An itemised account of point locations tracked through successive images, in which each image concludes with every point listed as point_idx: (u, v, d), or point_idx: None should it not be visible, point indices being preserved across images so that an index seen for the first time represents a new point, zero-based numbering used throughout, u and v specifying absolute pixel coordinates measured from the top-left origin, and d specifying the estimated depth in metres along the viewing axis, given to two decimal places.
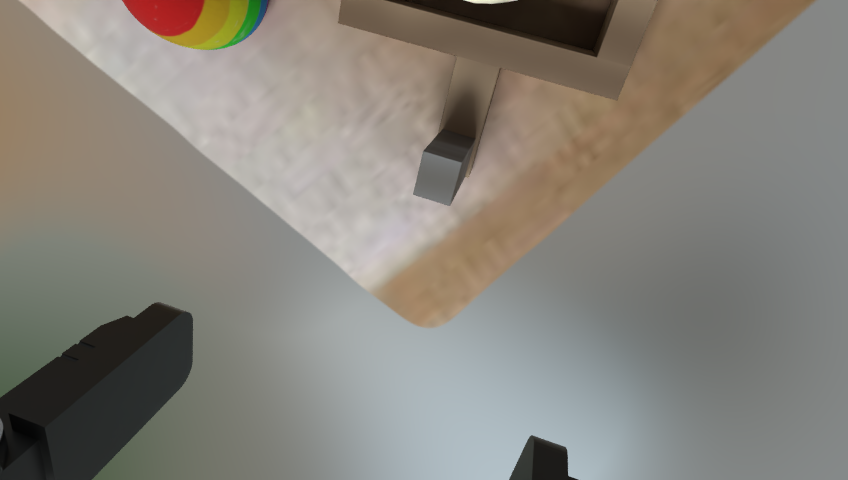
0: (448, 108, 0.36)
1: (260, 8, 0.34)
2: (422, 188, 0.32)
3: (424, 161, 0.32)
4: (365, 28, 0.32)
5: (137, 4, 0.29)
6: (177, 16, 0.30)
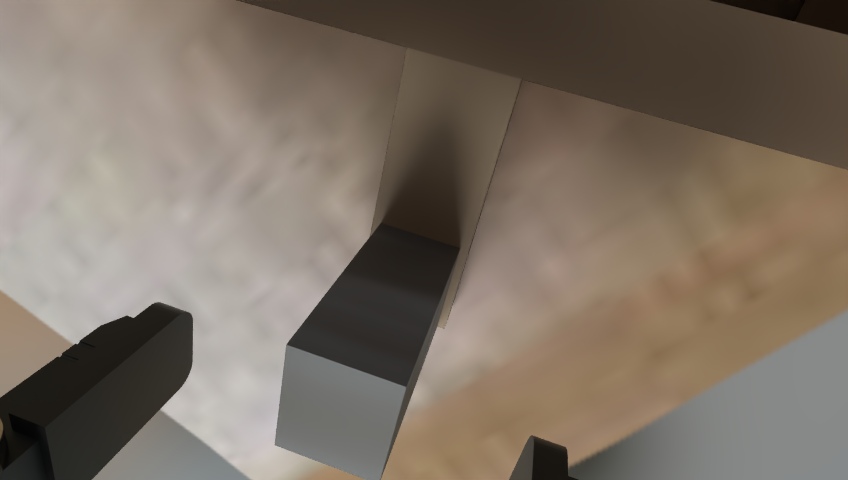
0: (393, 176, 0.14)
1: None
2: (297, 434, 0.11)
3: (293, 371, 0.10)
4: None
5: None
6: None
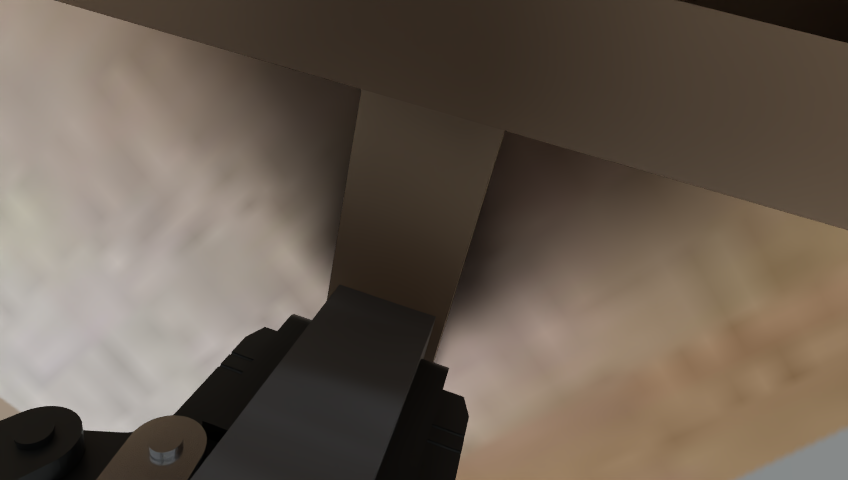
0: (351, 230, 0.12)
1: None
2: None
3: None
4: None
5: None
6: None
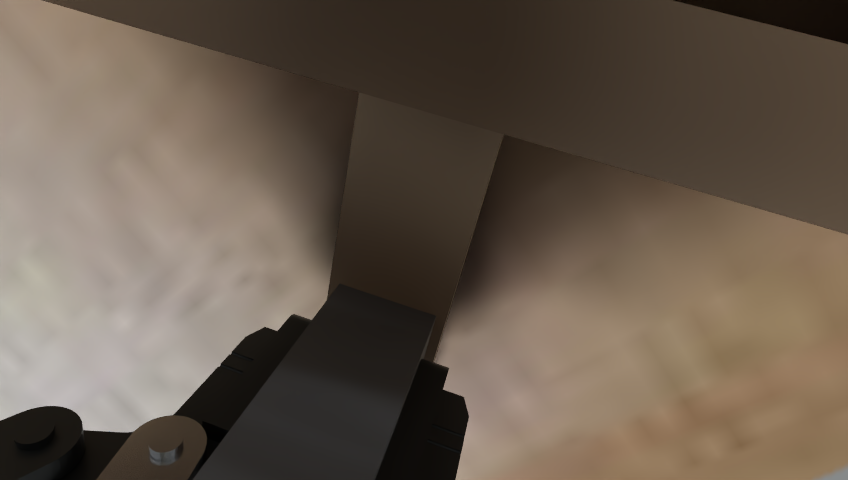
0: (351, 229, 0.12)
1: None
2: None
3: None
4: None
5: None
6: None
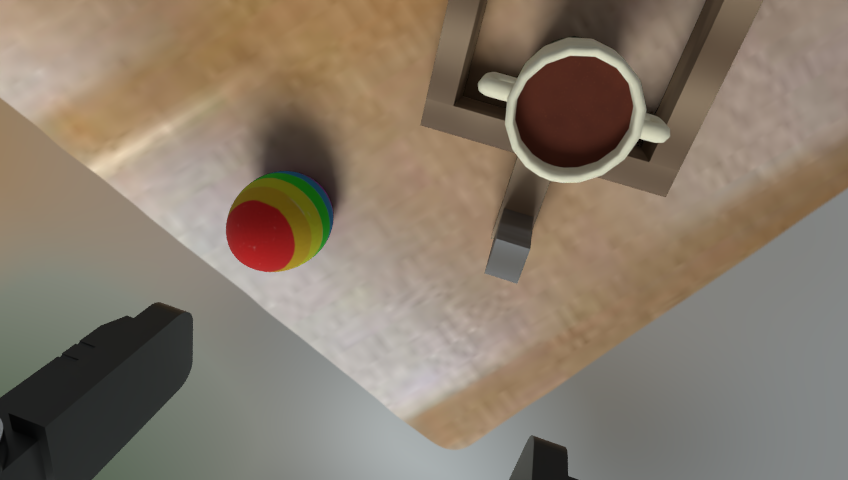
0: (510, 191, 0.41)
1: (328, 236, 0.44)
2: (493, 268, 0.37)
3: (496, 246, 0.36)
4: (444, 130, 0.37)
5: (246, 262, 0.39)
6: (274, 266, 0.40)
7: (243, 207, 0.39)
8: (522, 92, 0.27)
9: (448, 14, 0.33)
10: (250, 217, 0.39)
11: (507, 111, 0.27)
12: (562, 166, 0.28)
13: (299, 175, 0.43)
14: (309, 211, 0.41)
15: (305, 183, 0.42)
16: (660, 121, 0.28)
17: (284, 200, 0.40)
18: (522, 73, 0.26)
